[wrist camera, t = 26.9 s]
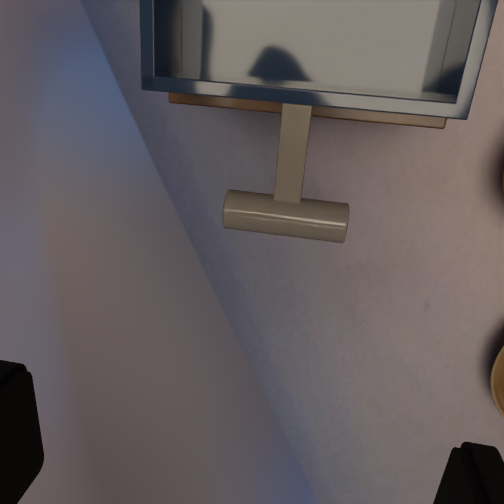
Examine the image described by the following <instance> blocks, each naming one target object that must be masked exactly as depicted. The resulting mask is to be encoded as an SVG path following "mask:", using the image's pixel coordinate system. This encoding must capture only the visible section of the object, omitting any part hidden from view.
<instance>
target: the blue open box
mask: <svg viewBox="0 0 504 504" xmlns="http://www.w3.org/2000/svg"><path fill="white" fill-rule="evenodd" d="M497 3H498V0H140V35H141V79H142V90H149V91H160V92H171V93H182V94H192V95H203V96H214V97H225V98H235V99H246V100H257V101H268V102H278V103H283V105H282V115H281V125H280V136H279V146H278V156H277V166H276V177H275V187H274V195H272V194H264V193H255V192H247V191H239V190H228V191H227V194H226V196H225V200H224V206H223V226H224V228H227V229H235V230H243V231H251V232H258V233H266V234H274V235H282V236H289V237H297V238H305V239H313V240H320V241H328V242H336V243H343V242H344V241H345V237H346V232H347V226H348V219H349V204H348V203H340V202H332V201H323V200H315V199H306V198H301V196H302V188H303V180H304V171H305V163H306V155H307V147H308V139H309V131H310V123H311V115H312V107H313V106H321V107H332V108H343V109H353V110H364V111H375V112H386V113H396V114H407V115H418V116H428V117H439V118H450V119H460V120H467V118H468V114H469V111H470V107H471V103H472V99H473V95H474V91H475V88H476V84H477V80H478V76H479V72H480V68H481V64H482V61H483V57H484V53H485V49H486V45H487V41H488V37H489V34H490V30H491V26H492V22H493V18H494V14H495V11H496V7H497Z"/></svg>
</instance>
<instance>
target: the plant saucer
mask: <svg viewBox="0 0 504 504" xmlns="http://www.w3.org/2000/svg"><path fill="white" fill-rule="evenodd" d="M491 391H492V396H493V399H494V402H495V404H496V406H497V408H498V410H499V411H500V413H501V414H502V416H503V417H504V346H503V347H502V349H501V350H500V352H499V354H498V356H497V358H496V360H495V362H494V365H493V368H492V373H491Z"/></svg>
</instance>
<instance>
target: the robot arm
mask: <svg viewBox="0 0 504 504" xmlns="http://www.w3.org/2000/svg"><path fill="white" fill-rule="evenodd" d="M43 461H44V451H43V445H42V438H41V432H40V425H39V419H38V412H37V406H36V399H35V392H34V386H33V379H32V375H31V373H30V372H28V371H27V369H26V366H25V365H24V364H20V363H15V362H8V361H3V360H0V504H17V503H18V501H19V500H20V499H21V497H22V496H23V495H24V493H25V492H26V490H27V489H28V488H29V486H30V485H31V483H32V482H33V481H34V479H35V478H36V476H37V475H38V473H39V472H40V470H41V468H42V465H43ZM433 504H504V462H503V460H502V457H501V455H500V453H499V451H498V450H497V448H495V447H494V446H488V445H482V444H476V443H471V442H464V443H462V445H461V447H460V448H456V447H454V448H453V449H452V451H451V453H450V456H449V459H448V462H447V465H446V468H445V471H444V474H443V477H442V479H441V482H440V485H439V488H438V491H437V494H436V497H435V500H434V503H433Z"/></svg>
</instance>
